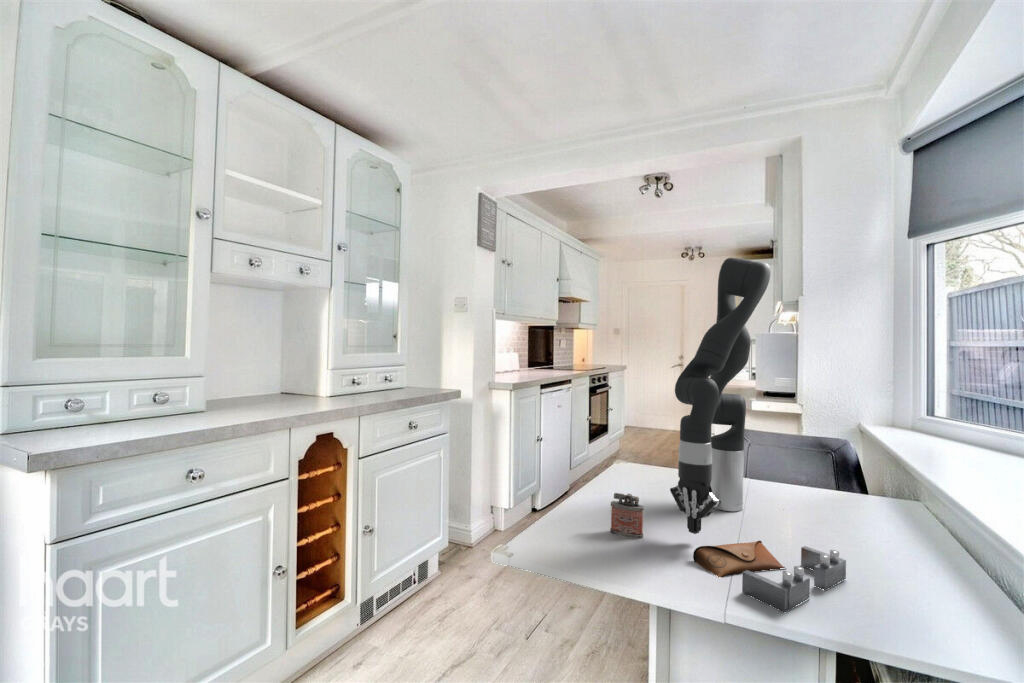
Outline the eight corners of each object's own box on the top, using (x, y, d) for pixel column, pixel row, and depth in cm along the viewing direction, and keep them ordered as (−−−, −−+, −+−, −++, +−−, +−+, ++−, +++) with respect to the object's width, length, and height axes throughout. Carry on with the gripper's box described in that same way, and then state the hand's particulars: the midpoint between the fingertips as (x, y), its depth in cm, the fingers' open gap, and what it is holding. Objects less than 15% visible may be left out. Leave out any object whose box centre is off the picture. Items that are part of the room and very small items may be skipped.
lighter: (644, 535, 119) (645, 494, 119) (641, 540, 116) (642, 498, 116) (612, 529, 123) (612, 490, 123) (608, 533, 120) (609, 493, 120)
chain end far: (783, 574, 100) (783, 545, 100) (804, 564, 105) (804, 536, 105) (825, 591, 93) (825, 560, 93) (845, 579, 98) (846, 550, 98)
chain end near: (742, 592, 92) (742, 561, 92) (767, 581, 97) (767, 551, 97) (784, 612, 85) (785, 579, 86) (809, 599, 90) (809, 567, 90)
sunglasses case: (719, 578, 98) (708, 543, 101) (699, 581, 103) (689, 548, 107) (790, 569, 103) (777, 535, 106) (767, 572, 108) (756, 541, 112)
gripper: (730, 463, 112) (728, 538, 111) (681, 452, 123) (680, 521, 122) (710, 467, 107) (709, 545, 107) (662, 455, 119) (661, 526, 118)
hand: (693, 532), depth 115 cm, fingers closed
